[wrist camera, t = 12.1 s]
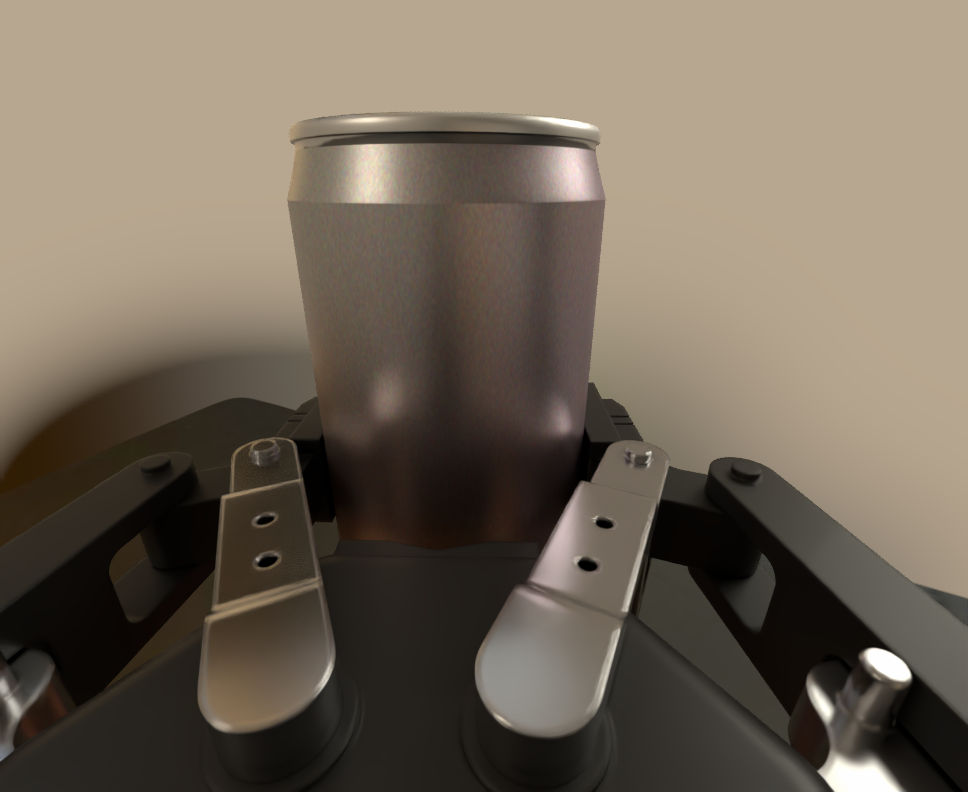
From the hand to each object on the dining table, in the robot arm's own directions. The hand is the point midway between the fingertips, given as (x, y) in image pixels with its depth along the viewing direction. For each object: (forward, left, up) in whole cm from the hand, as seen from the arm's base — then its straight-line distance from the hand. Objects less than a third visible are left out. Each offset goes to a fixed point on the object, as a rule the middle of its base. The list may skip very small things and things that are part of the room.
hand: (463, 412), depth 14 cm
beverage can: (+1, +2, -8) cm, 9 cm away
